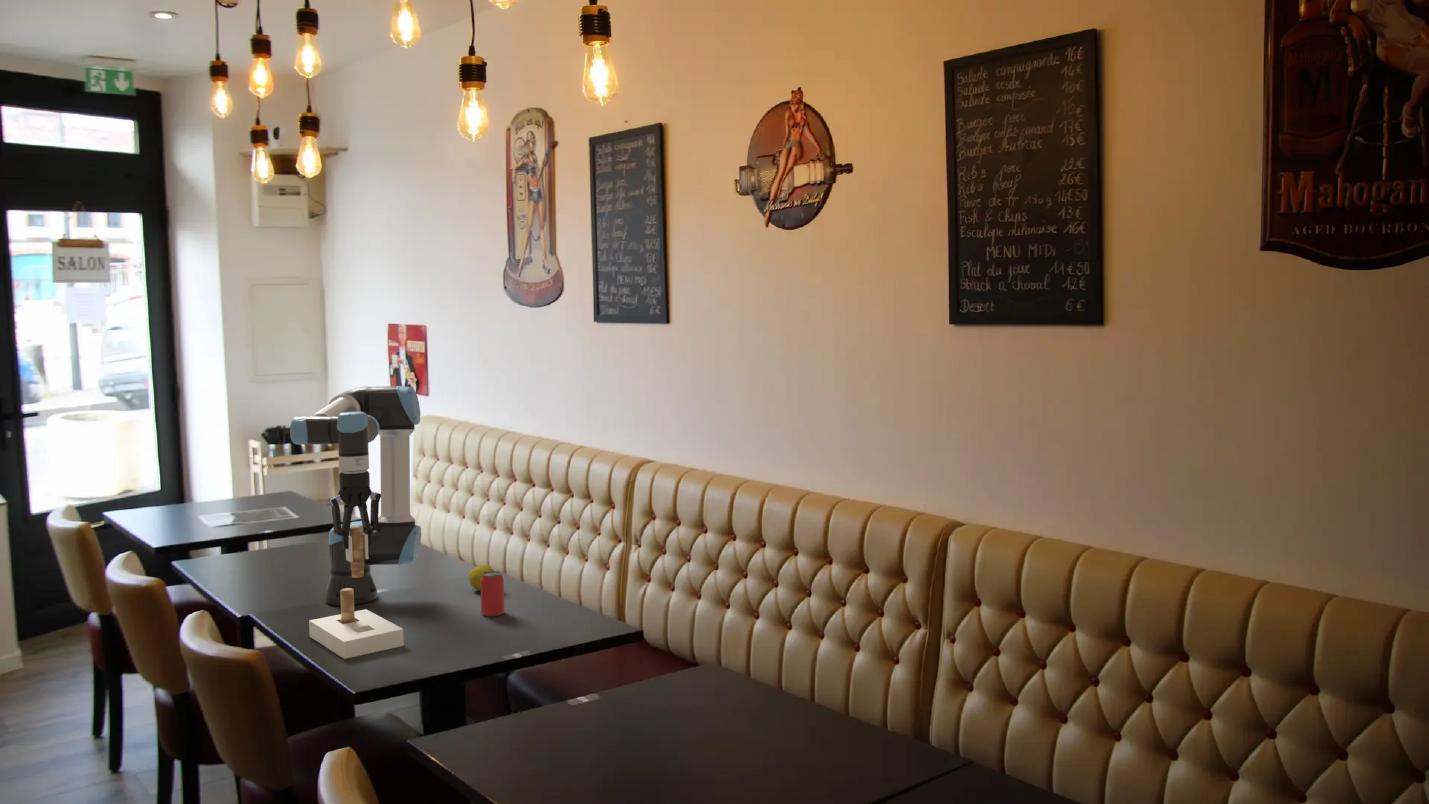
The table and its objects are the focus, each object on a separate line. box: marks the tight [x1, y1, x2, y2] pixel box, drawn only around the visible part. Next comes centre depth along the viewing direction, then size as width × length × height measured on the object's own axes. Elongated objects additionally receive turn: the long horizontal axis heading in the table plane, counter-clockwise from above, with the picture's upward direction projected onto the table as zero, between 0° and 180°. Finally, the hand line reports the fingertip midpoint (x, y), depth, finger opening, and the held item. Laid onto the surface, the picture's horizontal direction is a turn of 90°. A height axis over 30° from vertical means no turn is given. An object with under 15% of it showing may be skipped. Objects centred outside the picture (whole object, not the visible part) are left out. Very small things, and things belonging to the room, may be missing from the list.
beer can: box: [480, 570, 505, 618], centre depth 317 cm, size 7×7×12 cm
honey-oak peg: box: [349, 526, 364, 578], centre depth 288 cm, size 4×4×13 cm
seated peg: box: [340, 588, 355, 624], centre depth 296 cm, size 4×4×13 cm
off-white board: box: [308, 608, 405, 660], centre depth 293 cm, size 16×24×4 cm, turn 40°
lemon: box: [468, 564, 495, 592], centre depth 342 cm, size 11×8×8 cm
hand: (357, 559), depth 288 cm, fingers closed on honey-oak peg, 3 cm apart
